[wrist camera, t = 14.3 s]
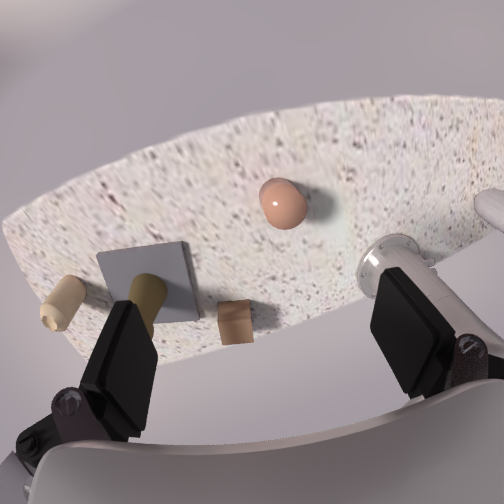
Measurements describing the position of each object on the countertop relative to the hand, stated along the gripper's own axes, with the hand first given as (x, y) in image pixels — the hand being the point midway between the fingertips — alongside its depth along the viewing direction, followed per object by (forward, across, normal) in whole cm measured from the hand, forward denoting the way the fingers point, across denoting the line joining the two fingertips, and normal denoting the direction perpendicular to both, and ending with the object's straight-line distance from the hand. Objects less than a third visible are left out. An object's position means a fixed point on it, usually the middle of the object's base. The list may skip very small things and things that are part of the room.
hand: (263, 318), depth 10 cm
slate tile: (+28, +16, +16) cm, 36 cm away
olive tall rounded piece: (+28, +16, +16) cm, 36 cm away
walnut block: (+28, +3, +23) cm, 37 cm away
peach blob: (+28, -5, +4) cm, 29 cm away
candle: (+28, +31, +15) cm, 45 cm away
